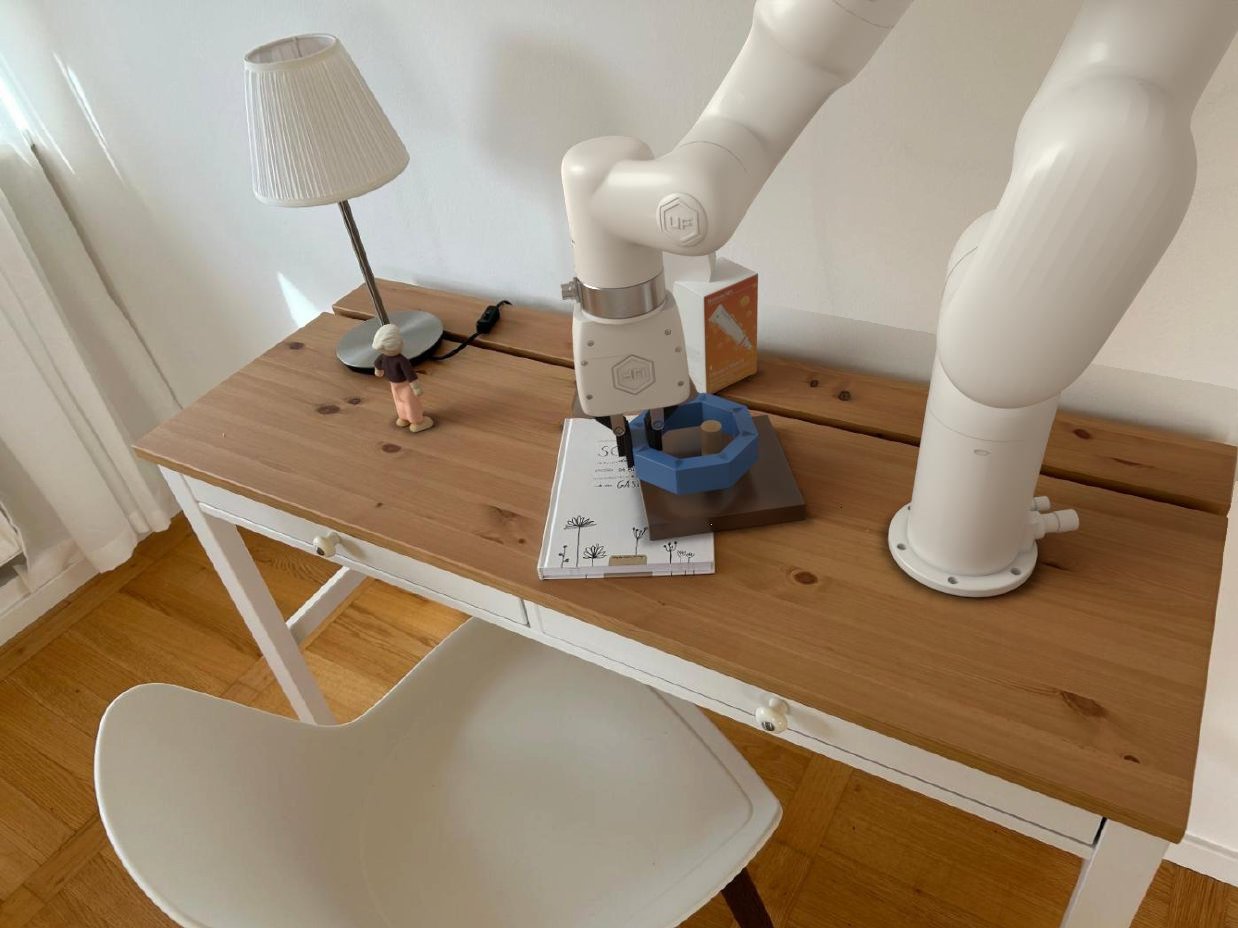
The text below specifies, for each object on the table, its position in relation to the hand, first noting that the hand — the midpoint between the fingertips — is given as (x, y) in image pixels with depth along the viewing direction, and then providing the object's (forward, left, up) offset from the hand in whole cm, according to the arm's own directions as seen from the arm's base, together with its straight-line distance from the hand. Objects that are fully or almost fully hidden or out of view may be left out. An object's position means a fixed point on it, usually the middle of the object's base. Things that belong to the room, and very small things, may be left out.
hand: (640, 456), depth 89 cm
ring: (-5, 0, 0) cm, 5 cm away
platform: (-7, 0, -5) cm, 8 cm away
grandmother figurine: (+25, -18, -5) cm, 31 cm away
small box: (-11, -20, -5) cm, 23 cm away
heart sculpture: (-4, -22, -5) cm, 23 cm away
